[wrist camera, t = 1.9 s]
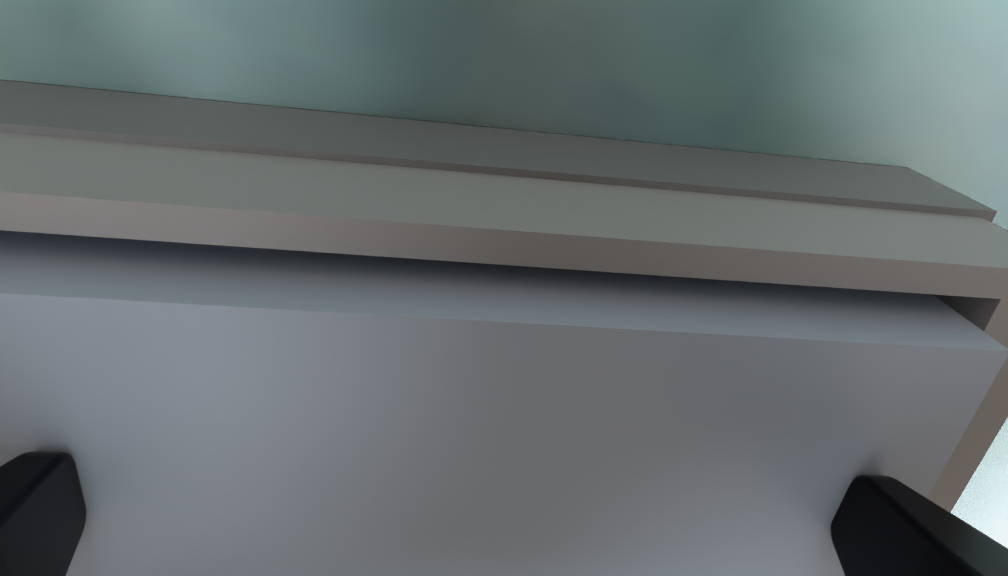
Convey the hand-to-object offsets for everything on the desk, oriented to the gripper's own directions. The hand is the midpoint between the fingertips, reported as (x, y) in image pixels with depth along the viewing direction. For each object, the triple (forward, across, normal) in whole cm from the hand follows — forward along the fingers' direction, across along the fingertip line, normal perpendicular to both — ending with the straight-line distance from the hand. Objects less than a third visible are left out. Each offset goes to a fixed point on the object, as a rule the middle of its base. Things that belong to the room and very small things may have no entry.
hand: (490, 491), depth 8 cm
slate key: (+2, 0, 0) cm, 2 cm away
